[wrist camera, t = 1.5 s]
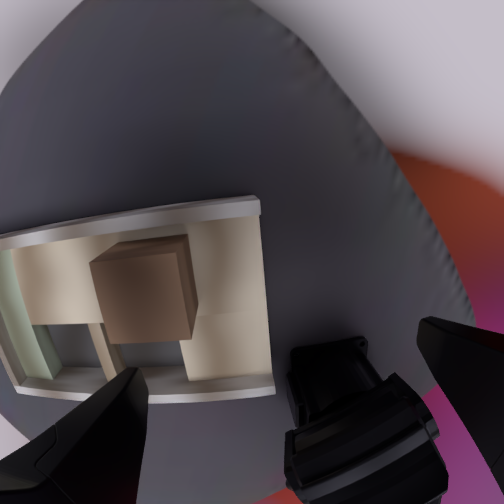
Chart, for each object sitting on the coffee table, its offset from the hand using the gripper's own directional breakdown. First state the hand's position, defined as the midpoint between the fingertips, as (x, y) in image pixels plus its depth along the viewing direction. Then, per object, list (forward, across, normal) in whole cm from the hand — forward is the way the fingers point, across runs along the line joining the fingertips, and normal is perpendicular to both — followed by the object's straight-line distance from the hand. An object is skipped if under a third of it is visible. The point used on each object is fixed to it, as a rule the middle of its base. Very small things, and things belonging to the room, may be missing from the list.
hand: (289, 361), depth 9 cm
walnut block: (+11, +6, 0) cm, 12 cm away
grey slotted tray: (+13, +10, +3) cm, 17 cm away
